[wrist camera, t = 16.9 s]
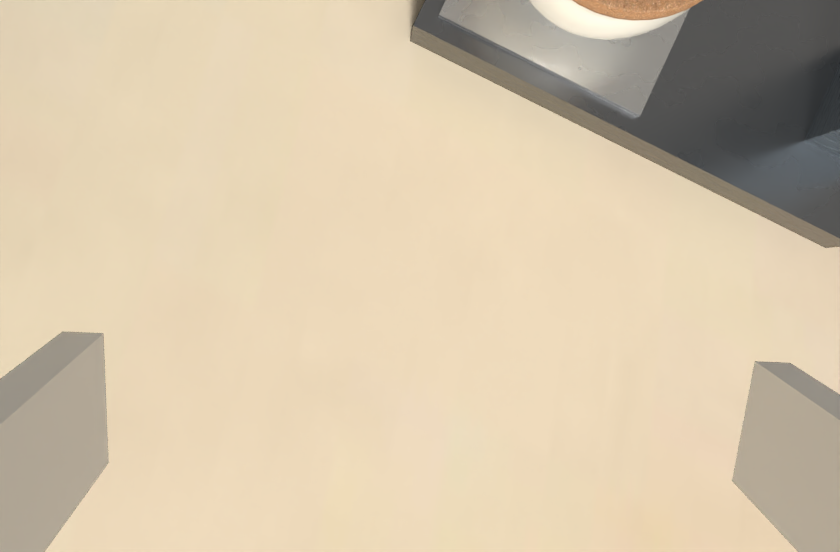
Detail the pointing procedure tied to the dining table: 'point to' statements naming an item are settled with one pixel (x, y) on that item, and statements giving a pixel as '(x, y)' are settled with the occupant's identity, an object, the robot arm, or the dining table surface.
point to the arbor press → (683, 92)
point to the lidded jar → (611, 15)
